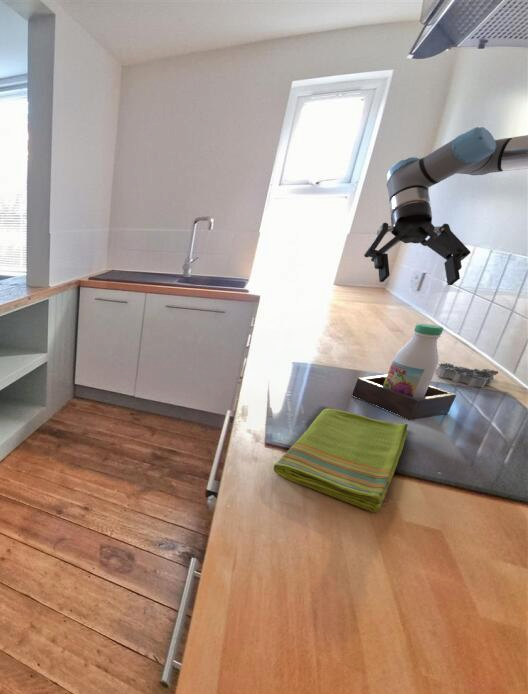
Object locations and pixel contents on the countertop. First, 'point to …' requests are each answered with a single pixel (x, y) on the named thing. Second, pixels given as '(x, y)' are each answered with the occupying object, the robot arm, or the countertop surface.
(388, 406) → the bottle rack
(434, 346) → the milk bottle
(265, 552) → the countertop surface
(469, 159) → the robot arm
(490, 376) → the egg carton
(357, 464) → the dish towel
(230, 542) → the countertop surface
